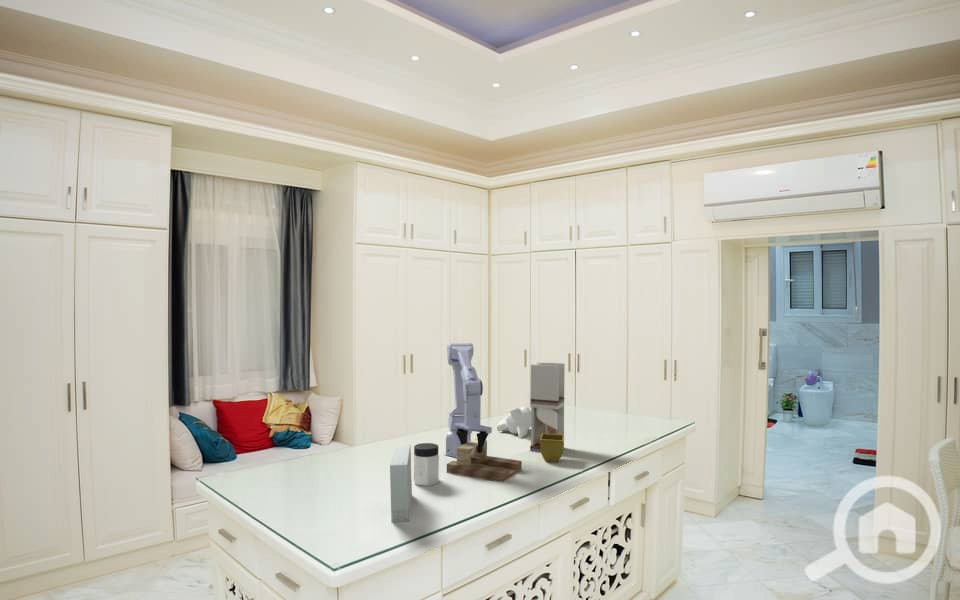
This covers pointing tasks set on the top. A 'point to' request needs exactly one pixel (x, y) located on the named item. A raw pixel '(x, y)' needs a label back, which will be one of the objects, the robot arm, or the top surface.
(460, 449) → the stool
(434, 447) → the jar
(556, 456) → the flower pot
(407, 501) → the skincare box
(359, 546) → the top surface
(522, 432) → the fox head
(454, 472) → the board
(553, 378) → the grey dispenser tower
